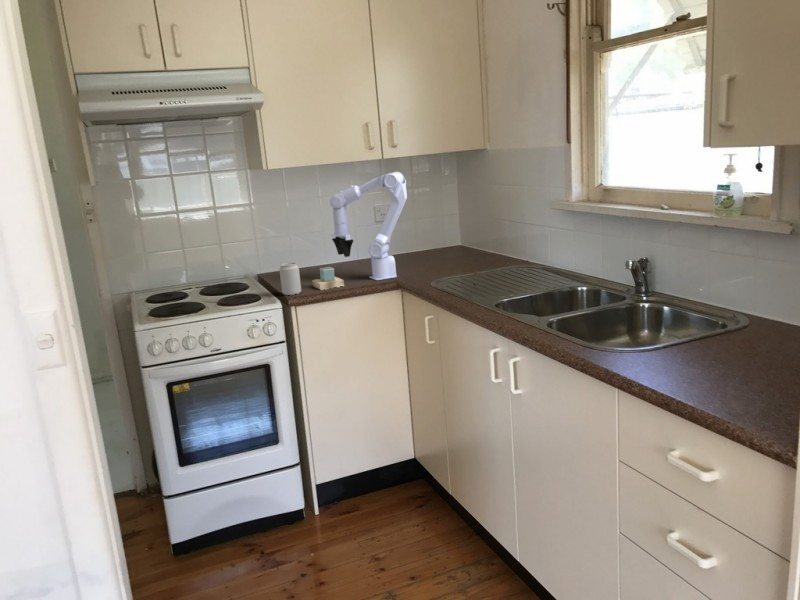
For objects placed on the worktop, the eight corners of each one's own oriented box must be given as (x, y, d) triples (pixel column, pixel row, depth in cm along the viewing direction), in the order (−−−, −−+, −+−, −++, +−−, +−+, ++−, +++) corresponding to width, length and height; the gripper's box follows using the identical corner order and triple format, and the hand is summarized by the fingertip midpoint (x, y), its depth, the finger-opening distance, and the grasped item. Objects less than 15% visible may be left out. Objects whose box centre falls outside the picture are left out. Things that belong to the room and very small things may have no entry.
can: (283, 296, 254) (279, 266, 251) (281, 293, 261) (277, 263, 258) (302, 294, 256) (299, 263, 253) (300, 290, 263) (296, 260, 260)
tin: (331, 278, 269) (329, 266, 268) (335, 280, 265) (333, 268, 264) (320, 280, 267) (319, 268, 266) (324, 281, 263) (323, 269, 262)
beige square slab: (336, 283, 274) (335, 276, 273) (344, 287, 265) (343, 280, 264) (312, 287, 270) (312, 280, 269) (320, 291, 261) (319, 284, 260)
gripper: (326, 222, 279) (329, 254, 282) (337, 225, 266) (340, 258, 269) (342, 220, 281) (344, 252, 285) (354, 223, 268) (357, 256, 272)
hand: (344, 255), depth 277 cm, fingers open, 7 cm apart
